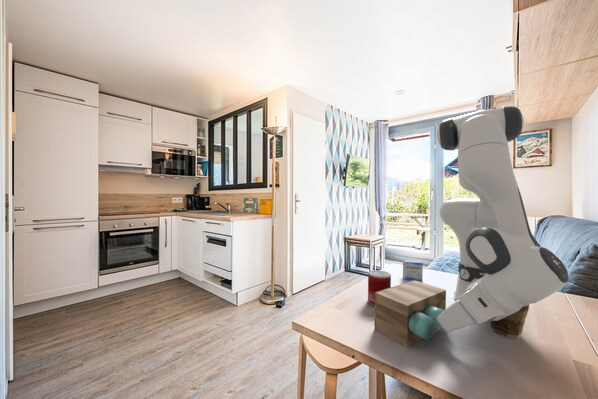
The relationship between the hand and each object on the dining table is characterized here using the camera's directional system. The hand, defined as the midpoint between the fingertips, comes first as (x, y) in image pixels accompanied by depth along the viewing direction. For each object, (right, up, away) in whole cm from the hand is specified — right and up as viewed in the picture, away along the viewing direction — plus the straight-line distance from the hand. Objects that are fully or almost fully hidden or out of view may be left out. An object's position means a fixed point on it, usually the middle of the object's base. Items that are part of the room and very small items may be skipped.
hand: (445, 322), depth 68 cm
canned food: (-10, -5, +26) cm, 28 cm away
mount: (-5, -6, +7) cm, 10 cm away
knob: (-4, -2, +6) cm, 8 cm away
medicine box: (+15, -5, +52) cm, 55 cm away
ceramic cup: (+20, -6, +7) cm, 22 cm away
